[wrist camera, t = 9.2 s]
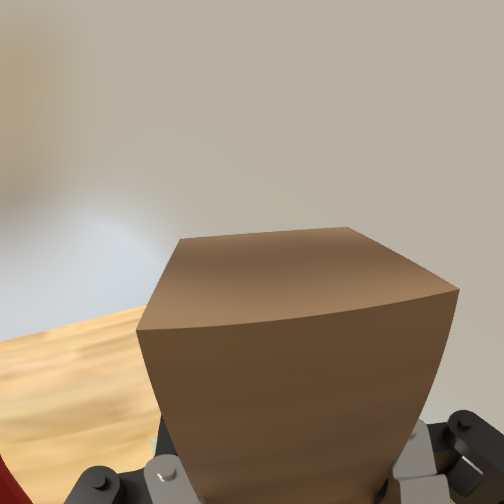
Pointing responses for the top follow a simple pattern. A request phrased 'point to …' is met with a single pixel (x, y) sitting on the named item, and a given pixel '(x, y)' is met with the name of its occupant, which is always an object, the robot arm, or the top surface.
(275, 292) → the walnut block
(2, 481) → the plastic cup
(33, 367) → the top surface
